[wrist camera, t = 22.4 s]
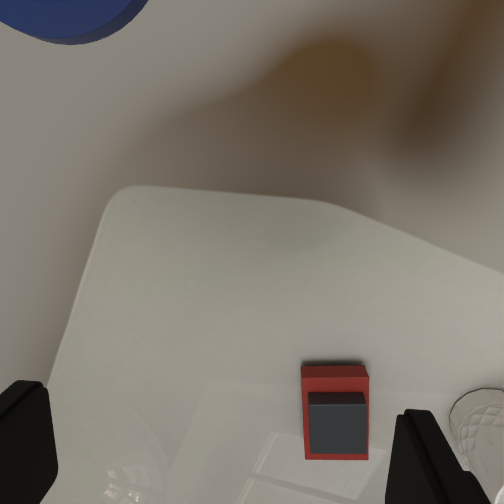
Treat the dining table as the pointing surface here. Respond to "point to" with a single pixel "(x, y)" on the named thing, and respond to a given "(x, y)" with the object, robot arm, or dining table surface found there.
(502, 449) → the white cup
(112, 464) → the dining table surface
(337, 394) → the toy car
